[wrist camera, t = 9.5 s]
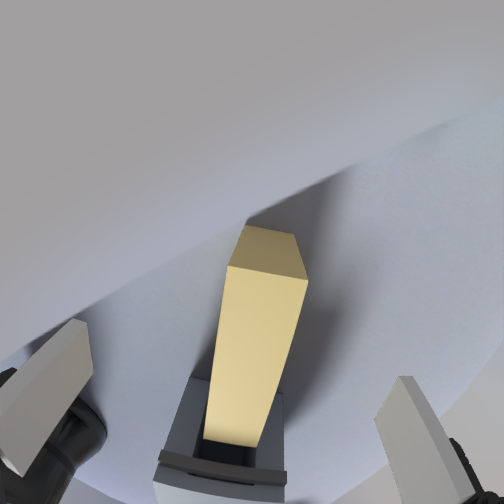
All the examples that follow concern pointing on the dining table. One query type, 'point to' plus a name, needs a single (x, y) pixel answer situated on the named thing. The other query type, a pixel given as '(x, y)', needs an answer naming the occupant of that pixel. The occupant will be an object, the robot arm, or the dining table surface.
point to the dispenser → (219, 459)
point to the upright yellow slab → (254, 333)
